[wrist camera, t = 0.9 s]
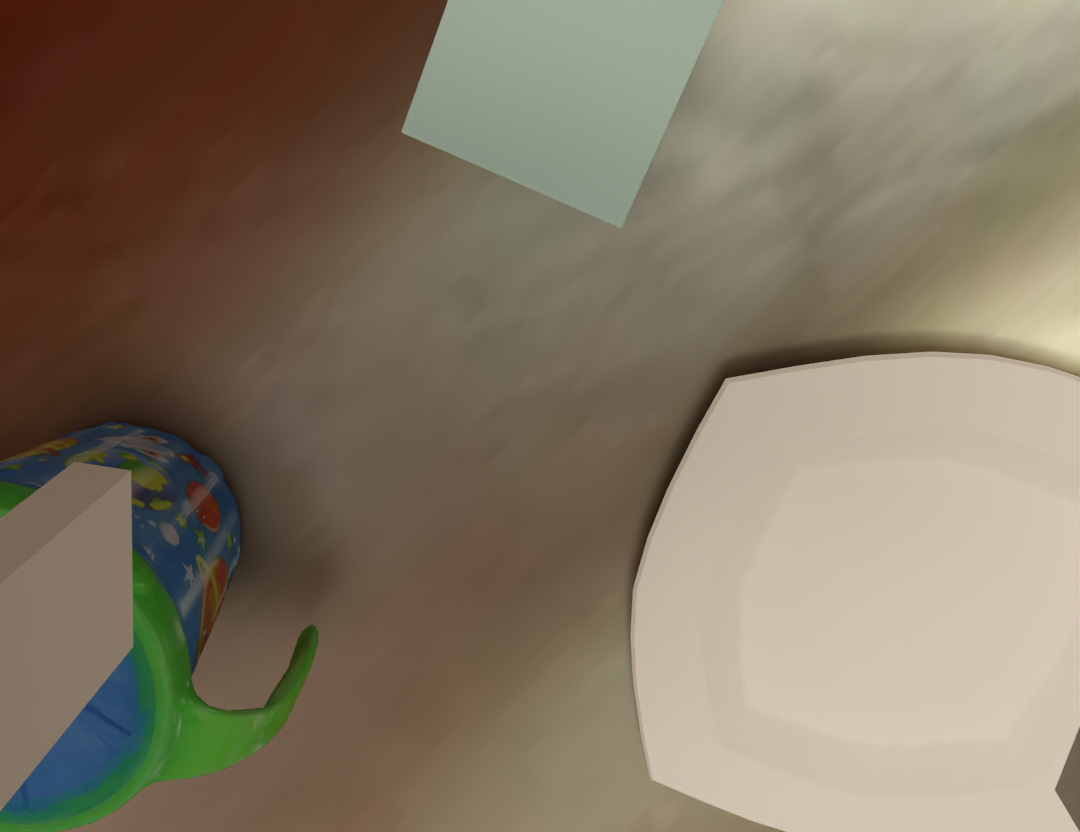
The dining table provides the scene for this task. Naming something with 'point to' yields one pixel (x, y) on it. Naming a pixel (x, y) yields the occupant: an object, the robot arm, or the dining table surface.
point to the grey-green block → (560, 91)
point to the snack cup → (149, 635)
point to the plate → (869, 598)
